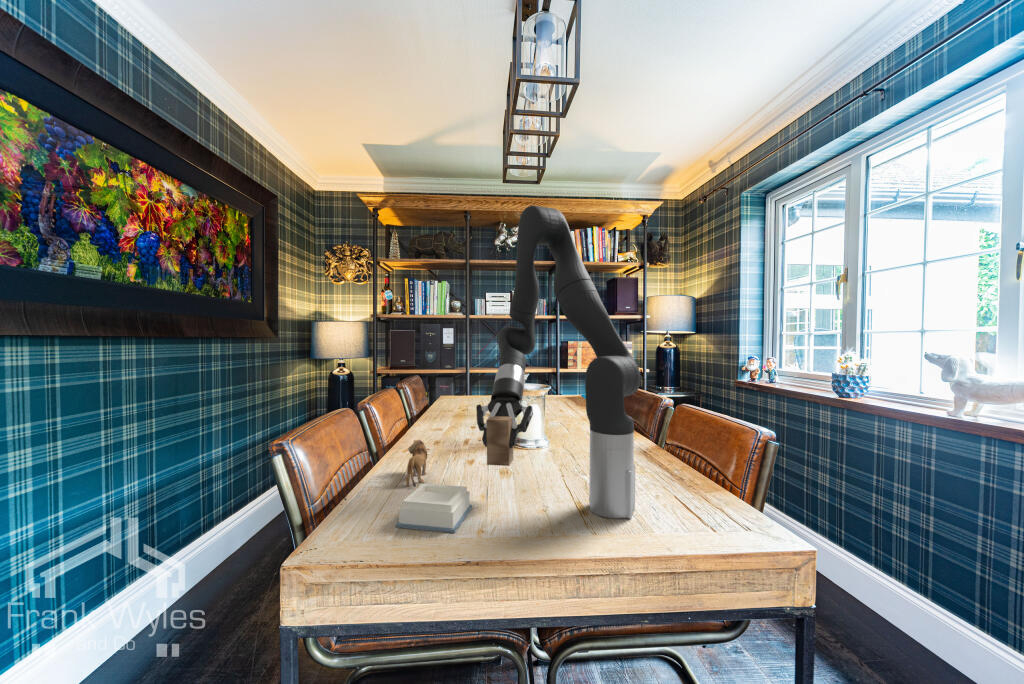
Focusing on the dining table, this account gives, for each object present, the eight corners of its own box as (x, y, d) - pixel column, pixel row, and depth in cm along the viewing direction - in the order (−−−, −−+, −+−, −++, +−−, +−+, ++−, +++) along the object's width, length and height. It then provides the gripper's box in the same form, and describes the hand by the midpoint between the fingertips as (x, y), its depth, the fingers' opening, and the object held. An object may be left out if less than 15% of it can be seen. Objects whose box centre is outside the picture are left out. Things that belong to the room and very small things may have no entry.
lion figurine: (407, 470, 114) (408, 438, 114) (427, 469, 115) (427, 437, 115) (404, 489, 99) (404, 453, 99) (427, 488, 100) (427, 451, 100)
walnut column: (513, 459, 95) (512, 416, 95) (509, 465, 90) (508, 420, 90) (492, 458, 96) (491, 415, 96) (487, 464, 91) (486, 419, 91)
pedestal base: (472, 507, 89) (472, 485, 89) (454, 532, 77) (454, 507, 77) (420, 502, 91) (420, 481, 91) (395, 527, 80) (395, 502, 80)
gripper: (478, 376, 101) (463, 435, 90) (535, 376, 99) (528, 437, 87) (484, 395, 107) (471, 453, 95) (538, 395, 104) (532, 455, 92)
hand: (498, 445), depth 91 cm, fingers closed on walnut column, 5 cm apart
